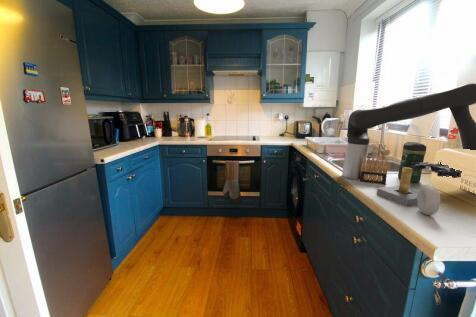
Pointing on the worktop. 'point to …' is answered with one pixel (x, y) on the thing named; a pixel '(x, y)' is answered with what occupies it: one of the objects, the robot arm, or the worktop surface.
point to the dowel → (405, 180)
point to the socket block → (399, 195)
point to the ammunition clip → (376, 172)
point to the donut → (428, 199)
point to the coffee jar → (412, 159)
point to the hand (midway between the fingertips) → (426, 170)
